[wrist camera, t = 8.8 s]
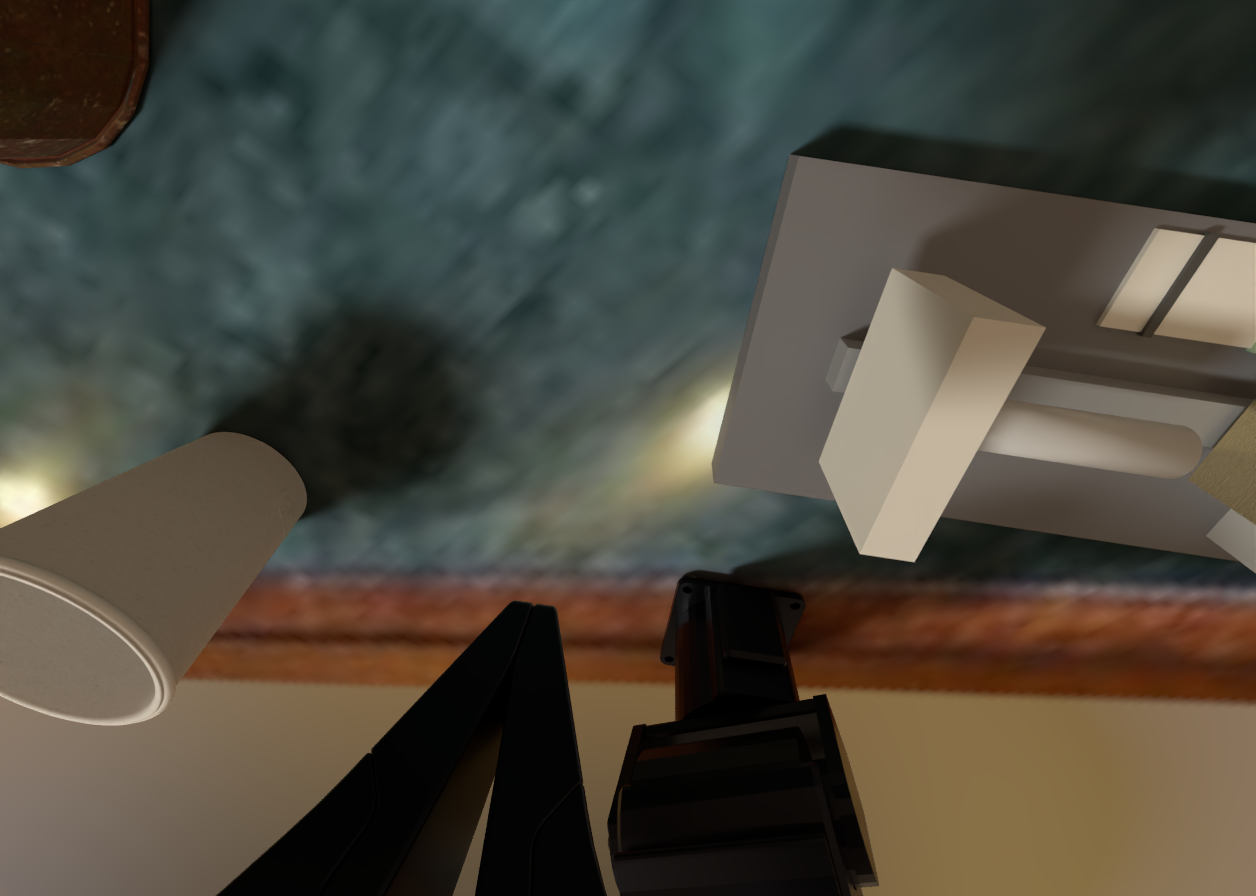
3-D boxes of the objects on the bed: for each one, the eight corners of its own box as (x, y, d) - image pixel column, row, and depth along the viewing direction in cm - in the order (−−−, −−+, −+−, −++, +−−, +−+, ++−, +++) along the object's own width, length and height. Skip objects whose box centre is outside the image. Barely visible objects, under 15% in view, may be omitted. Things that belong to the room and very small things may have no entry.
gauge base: (1249, 544, 23) (1517, 733, 16) (711, 463, 23) (728, 614, 16) (1528, 264, 17) (2188, 361, 9) (789, 154, 17) (877, 167, 9)
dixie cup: (317, 420, 23) (111, 583, 15) (345, 557, 28) (198, 743, 19) (135, 392, 23) (-177, 538, 15) (191, 533, 28) (-25, 709, 19)
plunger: (1053, 496, 19) (1161, 599, 15) (818, 461, 19) (859, 553, 15) (1182, 310, 16) (1372, 376, 11) (892, 267, 16) (973, 317, 11)
